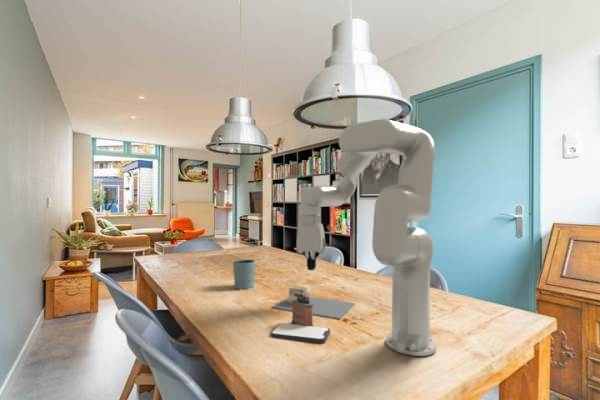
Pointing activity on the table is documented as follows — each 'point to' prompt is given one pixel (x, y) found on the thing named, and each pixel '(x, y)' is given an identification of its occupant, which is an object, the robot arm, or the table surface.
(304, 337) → the phone case
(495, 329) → the table surface
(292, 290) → the maple cube
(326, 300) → the rubber mat
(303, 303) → the lighter
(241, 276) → the teal cup
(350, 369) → the table surface
